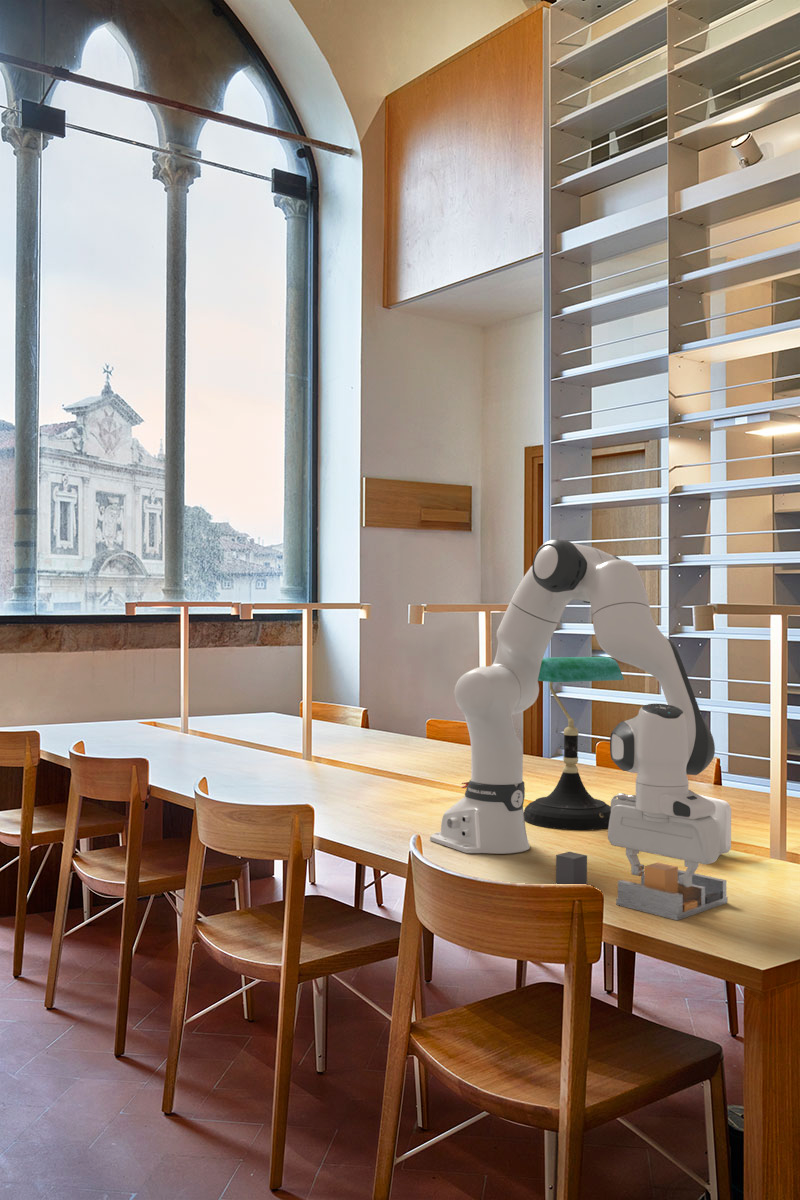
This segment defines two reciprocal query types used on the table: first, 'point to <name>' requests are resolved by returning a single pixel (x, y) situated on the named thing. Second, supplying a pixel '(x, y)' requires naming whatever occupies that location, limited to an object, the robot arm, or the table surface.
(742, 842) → the table surface
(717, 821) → the cable organizer
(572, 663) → the banker's lamp
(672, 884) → the orange block
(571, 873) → the dark gray block
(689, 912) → the gray divided tray
